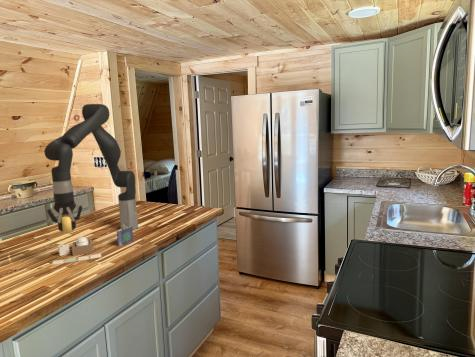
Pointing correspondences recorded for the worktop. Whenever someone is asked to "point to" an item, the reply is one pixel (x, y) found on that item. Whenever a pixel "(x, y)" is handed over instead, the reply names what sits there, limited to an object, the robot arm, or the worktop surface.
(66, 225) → the yellow rounded oblong piece
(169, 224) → the worktop surface
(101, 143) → the robot arm
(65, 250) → the die
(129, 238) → the navy rounded piece
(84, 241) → the white rounded egg-shaped piece
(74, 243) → the board
